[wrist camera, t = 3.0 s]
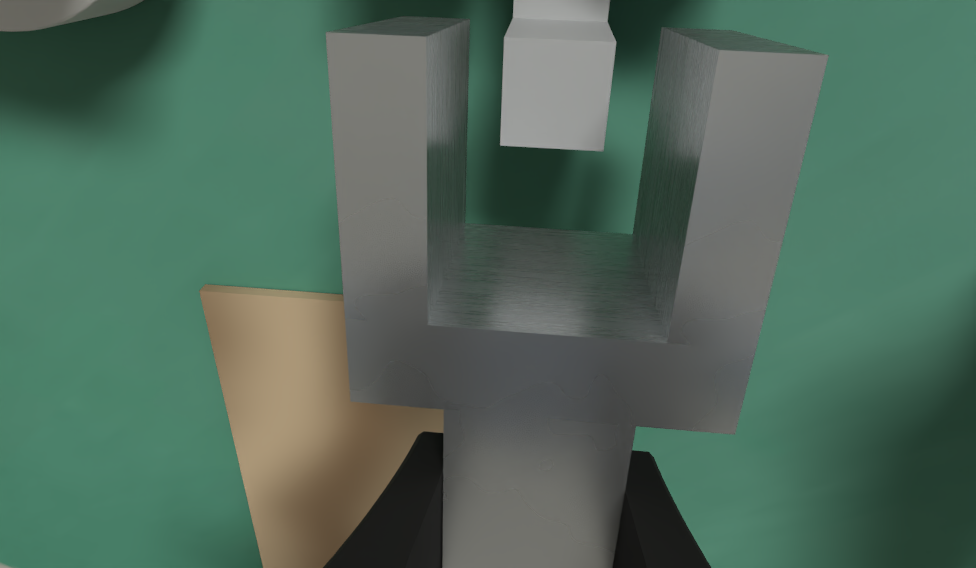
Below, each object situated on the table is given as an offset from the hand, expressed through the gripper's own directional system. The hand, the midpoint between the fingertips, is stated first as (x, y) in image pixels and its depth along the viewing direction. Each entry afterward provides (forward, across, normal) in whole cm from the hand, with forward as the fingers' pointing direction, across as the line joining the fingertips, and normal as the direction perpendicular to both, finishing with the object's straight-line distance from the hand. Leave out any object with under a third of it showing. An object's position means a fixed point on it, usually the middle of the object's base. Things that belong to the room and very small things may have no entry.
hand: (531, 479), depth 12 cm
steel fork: (+3, 0, 0) cm, 3 cm away
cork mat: (+8, +7, +10) cm, 14 cm away
